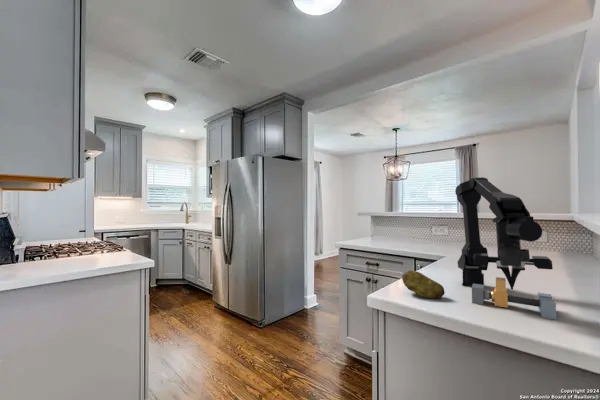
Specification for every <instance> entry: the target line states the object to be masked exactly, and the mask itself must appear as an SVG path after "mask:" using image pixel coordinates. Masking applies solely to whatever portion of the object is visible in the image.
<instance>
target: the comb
mask: <svg viewBox="0 0 600 400" xmlns="http://www.w3.org/2000/svg"><path fill="white" fill-rule="evenodd" d="M537 299H538V300H540V307H537V309H538V311H539V314H540V317H541V318H545V319H548V320H549V319H550V320H555V321H557V305H556V304H557V303H556V301H555V299H553V296H552V294H551V293H544V292H540V291H539V292H537Z"/></svg>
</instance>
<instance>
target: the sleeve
mask: <svg viewBox="0 0 600 400" xmlns="http://www.w3.org/2000/svg"><path fill="white" fill-rule="evenodd" d="M506 283H507V282H506V277H500V276H499V277H498V276H495V287H494V290H493V291H494V294H495V302H494V306H495V307H500V308H501V307H502V308H508V306H509V305H508V303H509V302H508V295H509V294H508V289H507V287H506V285H507V284H506Z"/></svg>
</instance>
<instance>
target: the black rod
mask: <svg viewBox="0 0 600 400" xmlns="http://www.w3.org/2000/svg"><path fill="white" fill-rule="evenodd" d="M489 300H492V299H491V292H490V291H489ZM508 303H513V304H518V305H519V304H520V305H526V306H533V307H536V308H538V307H540V300H538V298H531V297H524V296H516V295H509V294H508Z"/></svg>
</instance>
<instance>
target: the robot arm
mask: <svg viewBox="0 0 600 400" xmlns="http://www.w3.org/2000/svg"><path fill="white" fill-rule="evenodd" d="M454 191H455V195H456V198H457V199H456V200H457V201H458V203H459V204H460V205H461V207H462V213H463V214H462V215H463V227H464V237H465V238H464V239H465V244H464V245H463V247H462V249H461V255H460V257H458V258H459V259H458V260H457V262H456V263H457V268H458V269H460V270H462V283H461V286H465V287H471V288H472V285H473V284H481V285H484V286H485V274H484V273H483V271H485V272H486V271H488V266H489V263H494V264H496V269H499V270H501V272H502V273H503V274H504V276H505V279H507V282H508V285H509V287H510V290H514V286H515V283H516V281H517V278H518V276H519V274H520V273H521V271H525V270H526V267H525V266H527V265H528V266H534V267H536V268H537V269H539V270H553V269H554V267H553V261H552V260H551V259H550V257H548V256H546V255H545V256H544V255H543V256H542V255H532V256H531V258H530V250H529V249H528V248H521V246H522V245H521V241H524V242H535V241H538V240H539V239H540V238H541V237H542V235H543V228H542V227H541V225H540V223H538V222H537V221H535V220H534V216H532V215H531V213H530V211H529V210H528V209H527V207H526V205H525V204H524V201H523V200H522V199H521V198H520V197H519V196H516V195H514V194H510V193H506V192H503V191H502V190H501V189H500V188H498V187H497V186H495V185H494V184H493V183H492V182H490V181H489V179H488V178H487V177H483V176H481V177H473V178H471V177H470V178H469V180H466V181H464V182H462V183H460V184H458V185H457V186H455V190H454ZM482 198H484V199H485V200H486V201H487V202H488V203H489V207H488V208H489V209H490V211H491V212H492V213H493V215H494V216H495V217H494V218H493V219H492V223H495V230H496V244H497V250H496V251H497V256H489V253H488V249H487V247H484V245H483V244H482V243H481V235H480V233H481V232H480V223H479V213H478V204H479V202H480V201H481V200H482ZM510 266H511V272H510Z"/></svg>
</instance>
